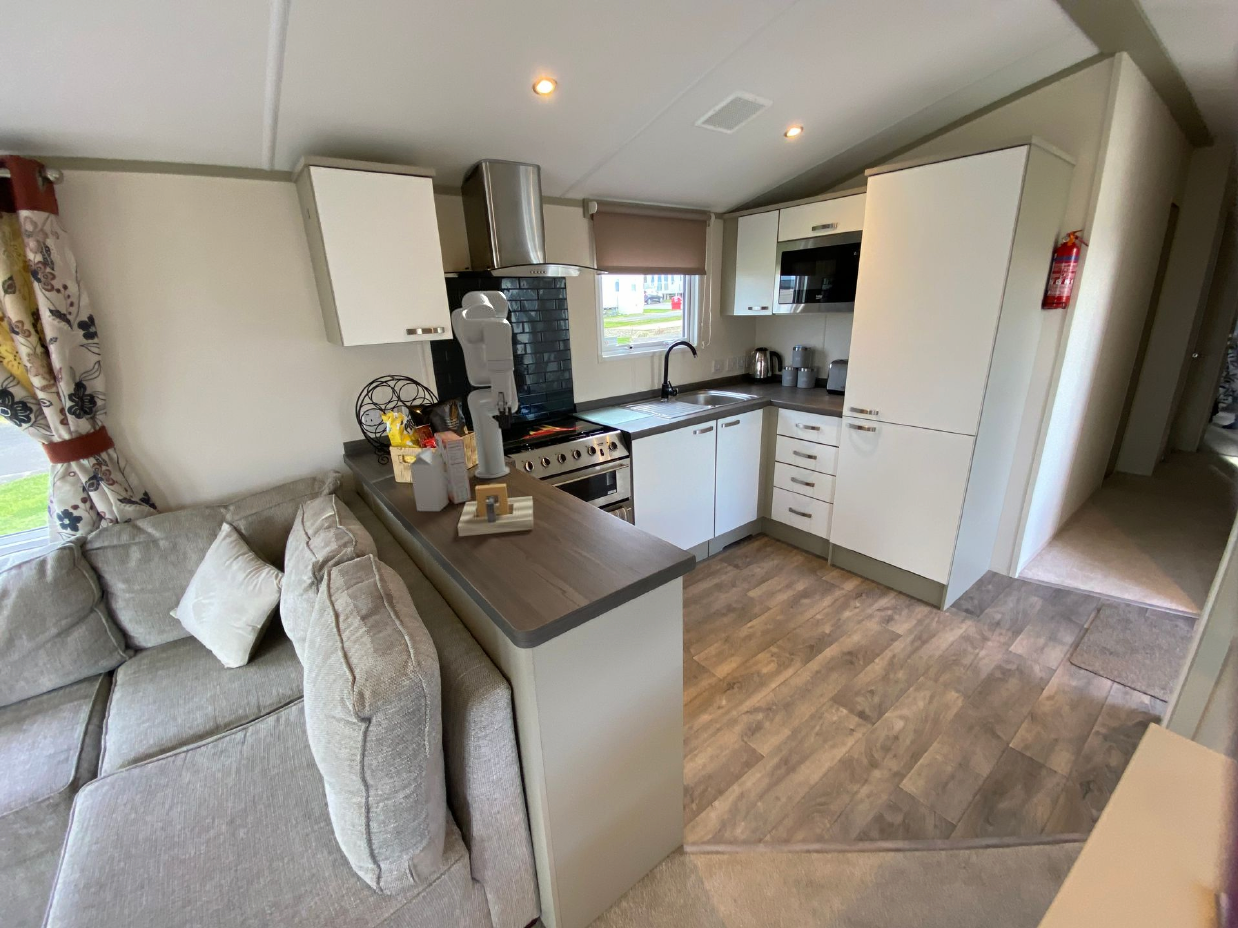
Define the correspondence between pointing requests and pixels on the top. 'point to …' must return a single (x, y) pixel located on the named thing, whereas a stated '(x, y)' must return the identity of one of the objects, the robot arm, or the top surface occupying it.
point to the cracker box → (454, 465)
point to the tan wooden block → (488, 491)
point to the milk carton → (429, 481)
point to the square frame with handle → (497, 517)
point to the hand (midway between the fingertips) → (505, 424)
